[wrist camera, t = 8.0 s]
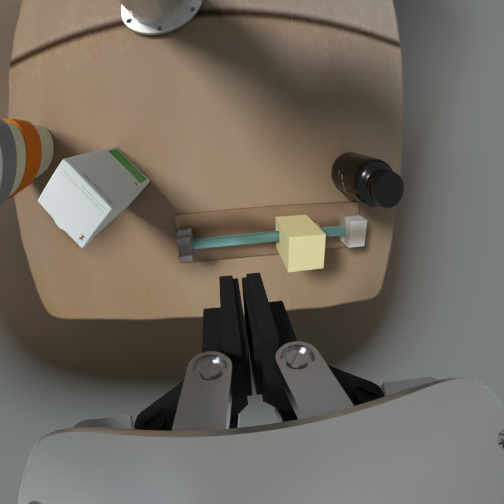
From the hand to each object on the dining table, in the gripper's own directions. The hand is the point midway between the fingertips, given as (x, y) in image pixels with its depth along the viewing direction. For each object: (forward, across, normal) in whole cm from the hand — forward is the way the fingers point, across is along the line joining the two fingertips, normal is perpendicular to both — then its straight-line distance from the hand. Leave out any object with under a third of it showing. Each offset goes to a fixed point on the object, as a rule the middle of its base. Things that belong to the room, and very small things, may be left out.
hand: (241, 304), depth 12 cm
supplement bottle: (+31, -20, 0) cm, 37 cm away
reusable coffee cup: (+31, +32, -10) cm, 46 cm away
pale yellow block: (+31, -10, +9) cm, 34 cm away
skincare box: (+31, +16, -2) cm, 35 cm away
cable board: (+31, -7, +9) cm, 33 cm away
